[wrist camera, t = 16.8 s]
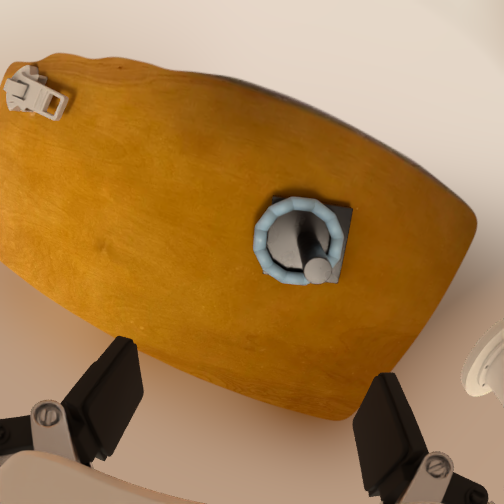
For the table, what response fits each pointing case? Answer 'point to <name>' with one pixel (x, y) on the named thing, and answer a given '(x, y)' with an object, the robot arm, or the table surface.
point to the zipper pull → (32, 93)
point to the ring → (286, 207)
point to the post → (306, 242)
